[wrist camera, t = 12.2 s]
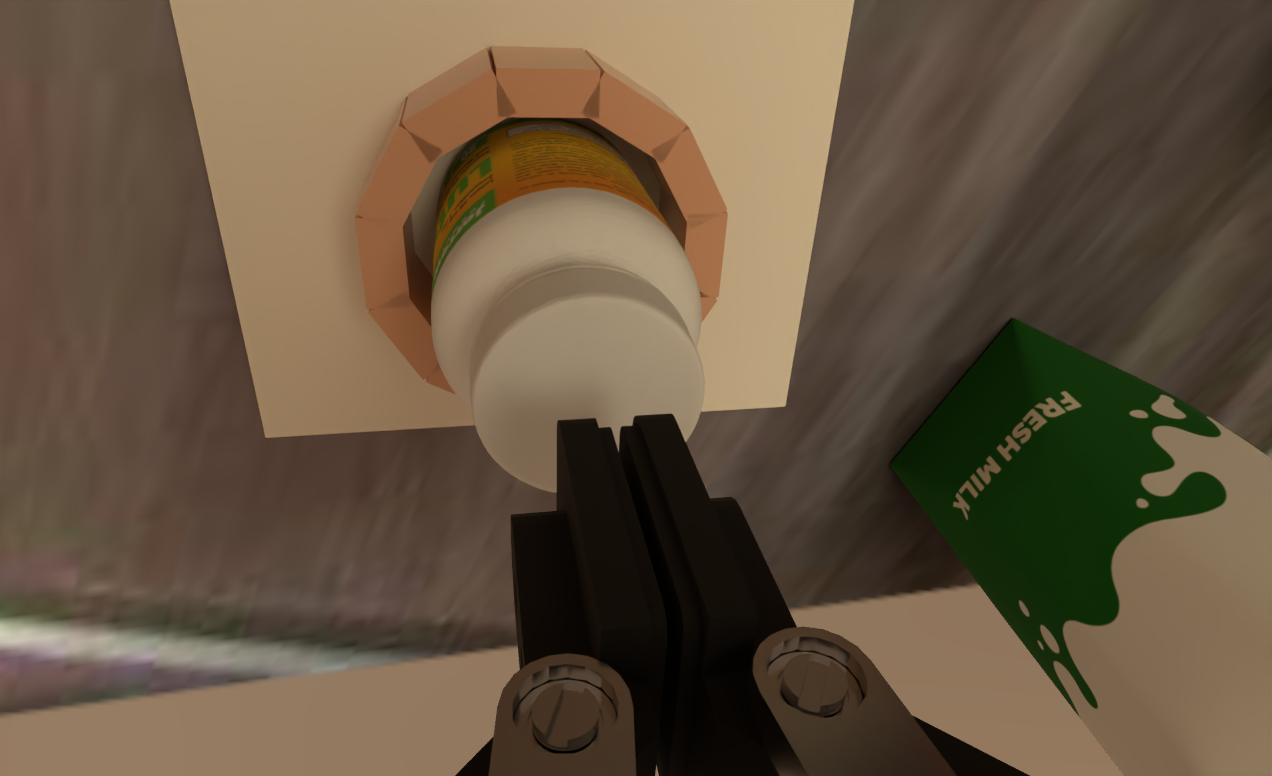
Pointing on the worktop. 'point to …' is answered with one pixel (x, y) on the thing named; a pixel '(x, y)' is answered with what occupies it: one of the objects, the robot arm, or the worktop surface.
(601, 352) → the supplement bottle
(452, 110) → the bottle collar
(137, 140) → the worktop surface
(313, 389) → the coaster board
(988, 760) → the robot arm
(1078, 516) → the milk carton
